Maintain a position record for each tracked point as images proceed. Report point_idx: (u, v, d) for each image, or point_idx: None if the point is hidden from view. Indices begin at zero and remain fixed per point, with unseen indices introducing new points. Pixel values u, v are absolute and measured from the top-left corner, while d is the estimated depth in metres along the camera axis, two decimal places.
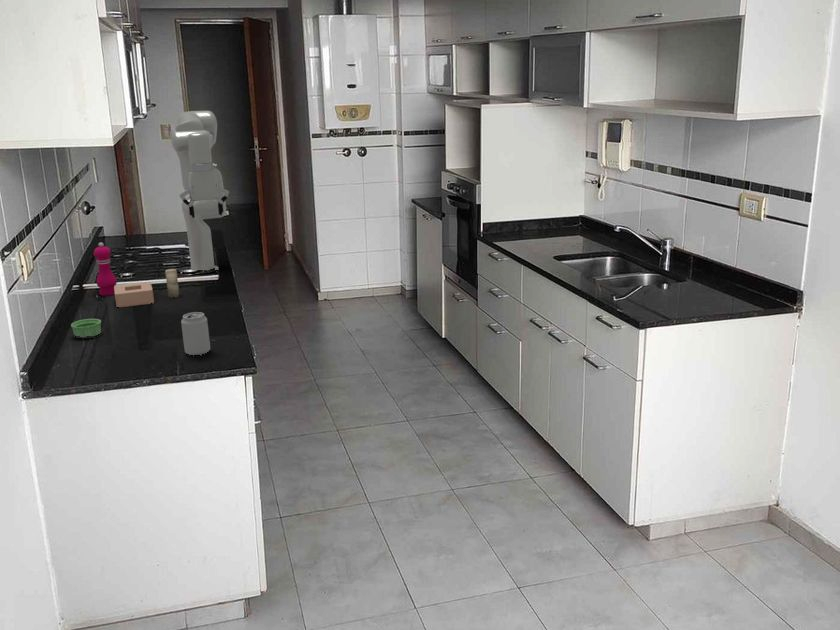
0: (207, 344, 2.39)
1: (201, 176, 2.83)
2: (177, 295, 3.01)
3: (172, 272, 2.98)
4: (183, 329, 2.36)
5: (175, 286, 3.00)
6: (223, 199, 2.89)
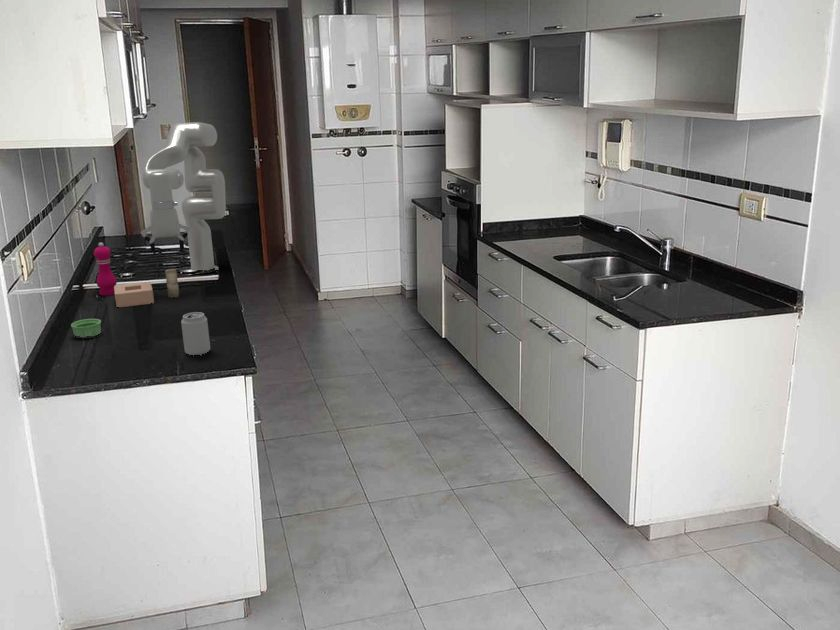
0: (207, 344, 2.39)
1: (161, 214, 2.90)
2: (177, 295, 3.01)
3: (172, 272, 2.98)
4: (183, 329, 2.36)
5: (175, 286, 3.00)
6: (184, 236, 2.97)
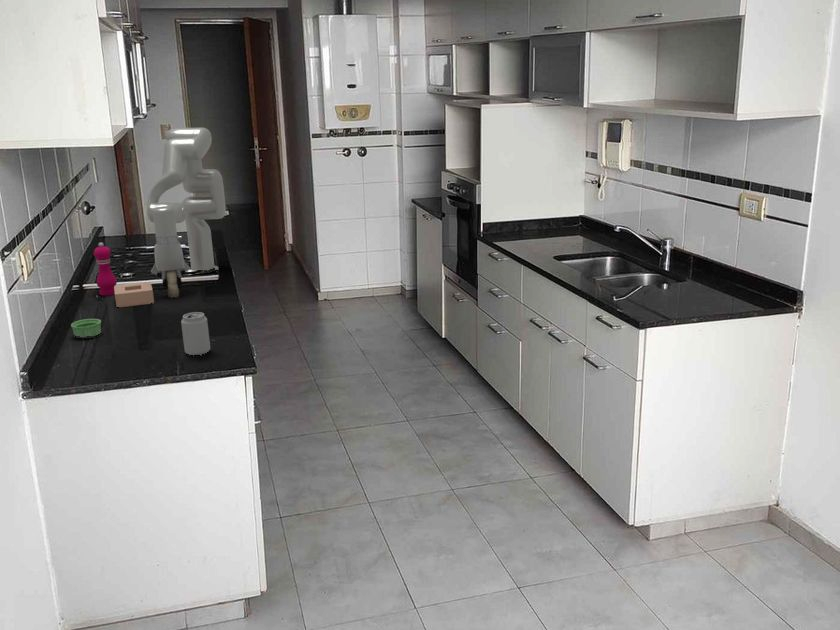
0: (207, 344, 2.39)
1: (166, 248, 2.94)
2: (177, 295, 3.01)
3: (172, 272, 2.98)
4: (183, 329, 2.36)
5: (175, 286, 3.00)
6: None
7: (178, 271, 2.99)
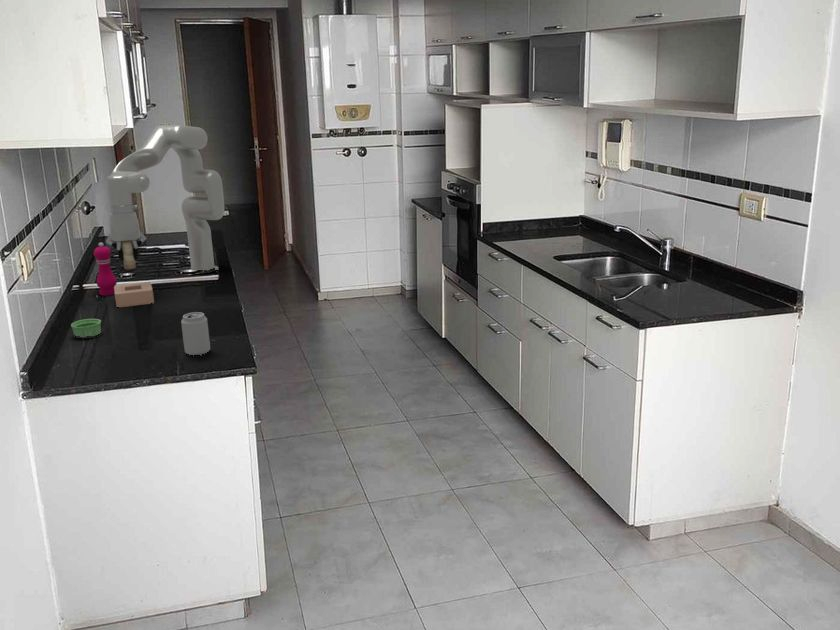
0: (207, 344, 2.39)
1: (121, 217, 2.86)
2: (133, 266, 2.92)
3: (127, 242, 2.89)
4: (183, 329, 2.36)
5: (131, 257, 2.91)
6: None
7: (134, 242, 2.90)
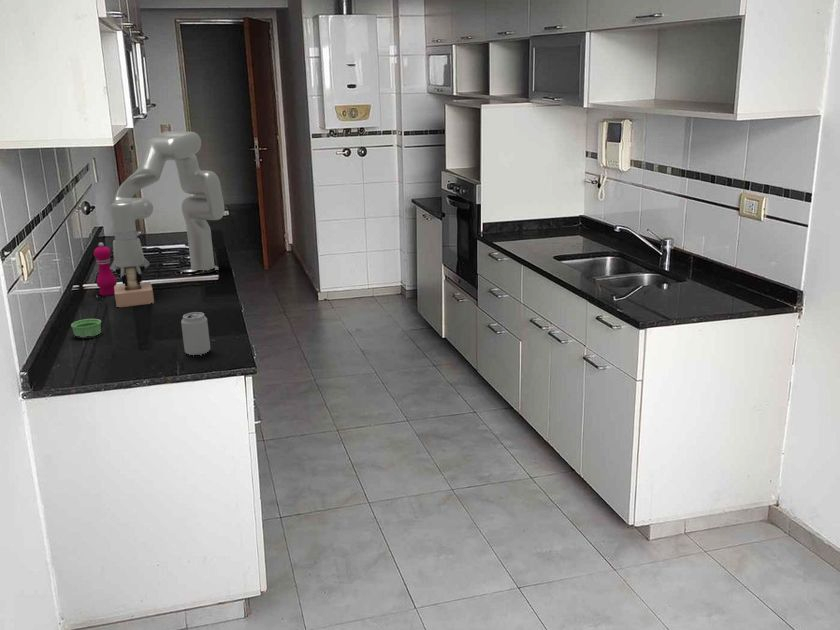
0: (207, 344, 2.39)
1: (124, 244, 2.88)
2: None
3: (131, 268, 2.92)
4: (183, 329, 2.36)
5: (135, 282, 2.94)
6: (142, 270, 2.95)
7: (137, 267, 2.93)
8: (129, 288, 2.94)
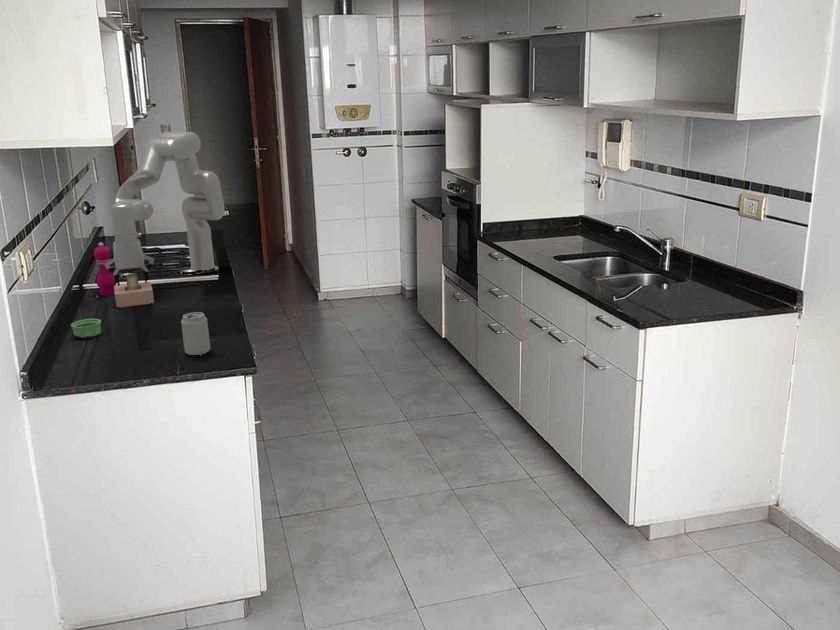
0: (207, 344, 2.39)
1: (125, 245, 2.89)
2: None
3: (132, 276, 2.93)
4: (183, 329, 2.36)
5: None
6: (148, 267, 2.95)
7: (142, 266, 2.94)
8: None
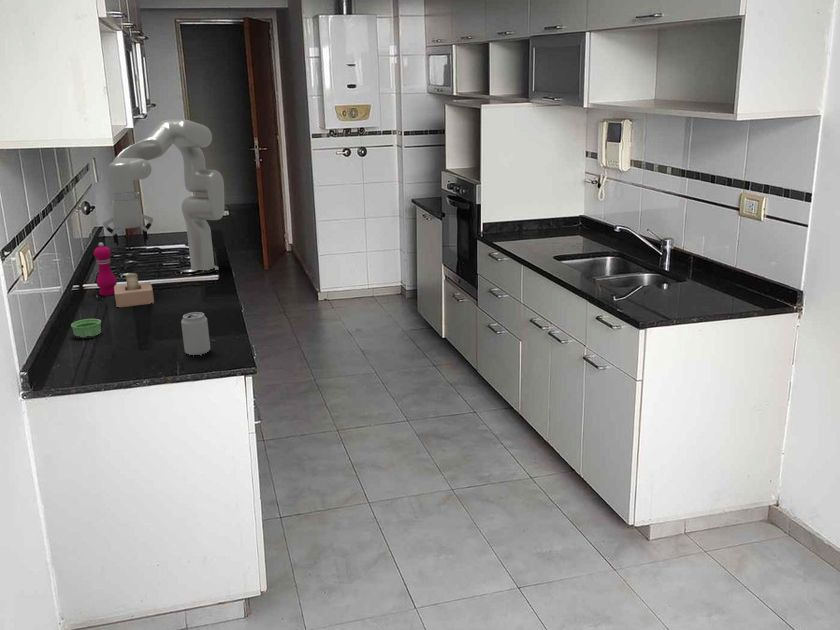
0: (207, 344, 2.39)
1: (123, 205, 2.86)
2: None
3: (133, 276, 2.93)
4: (183, 329, 2.36)
5: None
6: (147, 226, 2.93)
7: (141, 226, 2.92)
8: None
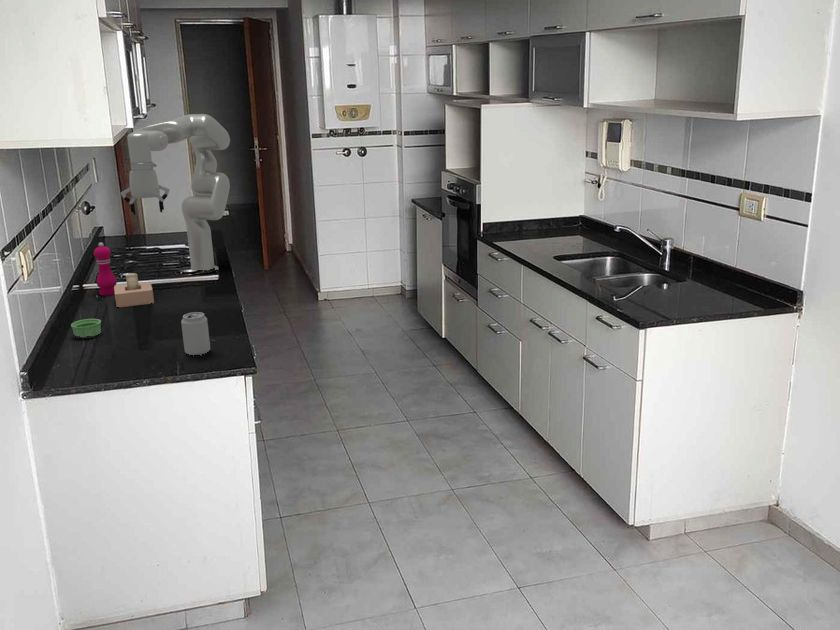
0: (207, 344, 2.39)
1: (141, 174, 2.94)
2: None
3: (133, 276, 2.93)
4: (183, 329, 2.36)
5: None
6: (163, 197, 3.01)
7: (158, 196, 3.00)
8: None
